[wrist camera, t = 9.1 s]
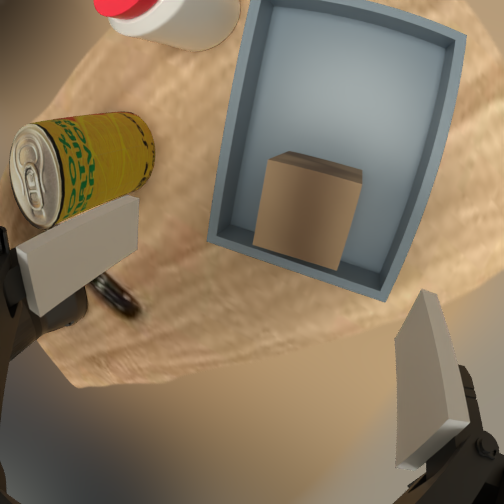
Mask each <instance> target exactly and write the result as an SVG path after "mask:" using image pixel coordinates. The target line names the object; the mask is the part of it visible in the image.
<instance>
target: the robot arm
mask: <svg viewBox="0 0 504 504" xmlns="http://www.w3.org/2000/svg"><path fill="white" fill-rule="evenodd" d="M138 217H139V198H137V197H133V196H130V195H126V196H123V197H121V198H118V199H116V200H114V201H111V202H109V203H106V204H104V205H102V206H100V207H97V208H95V209H93V210H90V211H88V212H86V213H84V214H81V215H79V216H77V217H75V218H73V219H71V220H68V221H66V222H64V223H62V224H60V225H58V226H56V227H54V228H52V229H50V230H47V231H45V232H43V233H41V234H39V235H37V236H35V237H33V238H31V239H30V240H28V241H26V242H24V243H22V244H20V245H18V246H16V247H15V248H13V249H11V250H10V248H9V243H8V237H7V230H6V228H5V227H2V226H0V420H1V411H2V402H3V396H4V389H5V382H6V377H7V371H8V366H9V362H10V361H11V360H12V359H14V358H15V357H16V356H17V355H18V354H19V353H21V352H22V351H23V350H24V349H25V348H27V347H28V346H29V345H30V344H32V343H33V342H34V341H35V340H37V339H38V338H39V337H41V336H42V335H43V334H45V333H48V332H51V331H55V330H57V329H60V328H62V327H65V326H71V325H73V324H75V323H76V322H77V321H79V320H80V319H81V318H82V317H83V316H84V315H85V313H86V309H87V299H86V293H85V289H84V285H86V284H87V283H89V282H90V281H92V280H93V279H94V278H96V277H97V276H99V275H100V274H102V273H103V272H105V271H106V270H107V269H109V268H110V267H112V266H113V265H115V264H116V263H118V262H119V261H121V260H122V259H124V258H125V257H127V256H128V255H130V254H131V253H133V252H134V251H136V250H137V249H138ZM395 353H396V374H397V443H396V462H395V468H399V469H406V470H413V471H415V470H417V469H418V468H419V467H421V466H422V465H423V464H424V463H426V473H424V474H423V475H422V476H420V477H419V478H417V479H416V480H415V481H413V482H412V483H411V484H409V485H408V487H409V489H408V490H407V491H406V492H405V493H404V494H403V495H402V496H400V497H399V498H398V499H397V500H396V501H395V502H394V503H393V504H504V455H502V454H500V453H499V447H498V444H497V442H496V440H495V439H494V437H493V436H492V435H491V434H489V433H488V432H486V431H483V427H482V421H481V417H480V412H479V407H478V403H477V400H476V394H475V391H474V386H473V382H472V378H471V376H470V374H469V373H468V371H467V369H466V368H465V366H462V365H458V363H457V359H456V355H455V352H454V348H453V344H452V341H451V338H450V334H449V331H448V328H447V324H446V321H445V318H444V315H443V312H442V309H441V306H440V303H439V300H438V297H437V294H435V293H432V292H429V291H426V290H423V289H421V291H420V293H419V295H418V297H417V299H416V301H415V303H414V305H413V306H412V308H411V310H410V312H409V314H408V316H407V318H406V320H405V321H404V323H403V325H402V327H401V329H400V330H399V332H398V334H397V336H396V337H395ZM0 504H21V503H19V502H18V501H16V500H15V499H13V498H12V497H11V496H9V495H8V494H7V492H6V478H5V473H4V470H3V467H2V465H1V462H0Z"/></svg>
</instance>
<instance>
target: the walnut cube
mask: <svg viewBox="0 0 504 504" xmlns="http://www.w3.org/2000/svg"><path fill="white" fill-rule="evenodd" d="M361 188H362V170H360V169H357V168H353V167H350V166H346V165H343V164H339V163H336V162H332V161H328V160H324V159H321V158H317V157H313V156H309V155H305V154H301V153H296V152H292V151H288V152H285V153H283V154H280V155H278V156H275V157H273V158H270V159H268V162H267V167H266V173H265V178H264V184H263V189H262V195H261V200H260V206H259V212H258V217H257V223H256V228H255V234H254V239H253V245H255V246H258V247H261V248H265V249H268V250H271V251H274V252H278V253H281V254H284V255H287V256H291V257H294V258H297V259H301V260H304V261H307V262H310V263H314V264H317V265H320V266H323V267H326V268H330V269H333V270H336V271H337V268H338V265H339V262H340V259H341V256H342V253H343V250H344V247H345V243H346V240H347V237H348V233H349V230H350V227H351V223H352V220H353V216H354V213H355V209H356V206H357V202H358V199H359V195H360V191H361Z"/></svg>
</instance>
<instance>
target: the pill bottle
mask: <svg viewBox="0 0 504 504" xmlns="http://www.w3.org/2000/svg"><path fill="white" fill-rule="evenodd" d="M94 6H95V9H96V10H97V11H98V13H100V14H101V15H103V16H106V17H108V20H109V22H110V24H111V26H112V27H113V29H114V30H116V31H117V32H118V33H120V34H122V35H125V36H128V37H132V38H137V39H142V40H146V41H150V42H155V43H159V44H163V45H167V46H170V47H174V48H178V49H181V50H185V51H190V52H199V51H204V50H207V49H210V48H213V47H215V46H216V45H218V44H220V43H221V42H222V41H223V40H225V39H226V38H227V37H228V36H229V35H230V34H231V32H232V31H233V29H234V28H235V26H236V24H237V22H238V19H239V16H240V2H239V0H94Z"/></svg>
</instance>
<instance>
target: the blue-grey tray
mask: <svg viewBox="0 0 504 504" xmlns="http://www.w3.org/2000/svg"><path fill="white" fill-rule="evenodd" d="M466 38H467V35H465V34H463V33H460V32H458V31H456V30H454V29H451V28H449V27H446V26H444V25H442V24H439V23H436V22H434V21H431V20H429V19H426V18H423V17H420V16H417V15H415V14H412V13H409V12H405V11H402V10H399V9H396V8H392V7H389V6H386V5H382V4H378V3H374V2H370V1H366V0H251V1H250V5H249V9H248V14H247V18H246V23H245V27H244V32H243V36H242V41H241V45H240V50H239V55H238V60H237V65H236V69H235V74H234V79H233V84H232V90H231V95H230V100H229V105H228V111H227V116H226V122H225V127H224V133H223V139H222V144H221V150H220V156H219V162H218V168H217V174H216V181H215V187H214V194H213V200H212V207H211V214H210V221H209V228H208V235H207V242H210V243H213V244H215V245H218V246H221V247H224V248H227V249H230V250H233V251H236V252H239V253H242V254H244V255H247V256H250V257H253V258H256V259H259V260H262V261H265V262H268V263H271V264H274V265H277V266H279V267H282V268H285V269H288V270H291V271H294V272H297V273H300V274H303V275H306V276H309V277H312V278H315V279H318V280H320V281H323V282H326V283H329V284H332V285H335V286H338V287H341V288H344V289H347V290H350V291H353V292H356V293H359V294H362V295H365V296H368V297H371V298H374V299H376V300H379V301H382V302H386V300H387V298H388V296H389V294H390V292H391V290H392V287H393V285H394V283H395V281H396V279H397V276H398V274H399V272H400V270H401V267H402V265H403V263H404V261H405V258H406V256H407V253H408V251H409V249H410V246H411V244H412V241H413V239H414V236H415V234H416V231H417V229H418V226H419V223H420V221H421V218H422V215H423V213H424V210H425V207H426V204H427V201H428V198H429V196H430V193H431V190H432V187H433V184H434V180H435V177H436V174H437V171H438V168H439V164H440V161H441V158H442V154H443V151H444V147H445V144H446V140H447V136H448V132H449V128H450V124H451V120H452V116H453V112H454V107H455V103H456V98H457V93H458V88H459V83H460V78H461V72H462V66H463V60H464V53H465V46H466ZM288 151H292V152H296V153H301V154H305V155H309V156H313V157H317V158H321V159H324V160H328V161H332V162H336V163H339V164H343V165H346V166H350V167H353V168H357V169H360V170H362V188H361V191H360V195H359V199H358V202H357V206H356V209H355V213H354V216H353V220H352V223H351V227H350V230H349V233H348V237H347V240H346V243H345V247H344V250H343V253H342V256H341V259H340V262H339V265H338V268H337V271H336V270H333V269H330V268H326V267H323V266H320V265H317V264H314V263H310V262H307V261H304V260H301V259H297V258H294V257H291V256H287V255H284V254H281V253H278V252H274V251H271V250H268V249H265V248H261V247H258V246H255V245H253V239H254V234H255V228H256V223H257V217H258V212H259V206H260V200H261V195H262V189H263V184H264V178H265V173H266V167H267V162H268V159H270V158H273V157H275V156H278V155H280V154H283V153H285V152H288Z"/></svg>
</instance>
